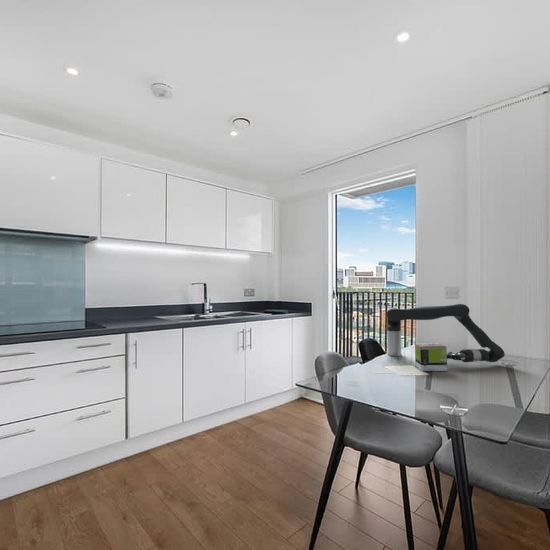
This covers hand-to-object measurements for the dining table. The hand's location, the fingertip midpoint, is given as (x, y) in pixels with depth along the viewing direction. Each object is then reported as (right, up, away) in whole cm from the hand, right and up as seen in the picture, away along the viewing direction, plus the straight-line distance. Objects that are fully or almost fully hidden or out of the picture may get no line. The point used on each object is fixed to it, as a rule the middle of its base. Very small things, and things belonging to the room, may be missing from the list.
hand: (443, 356), depth 198 cm
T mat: (-30, -8, -4) cm, 31 cm away
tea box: (-8, -7, -1) cm, 11 cm away
